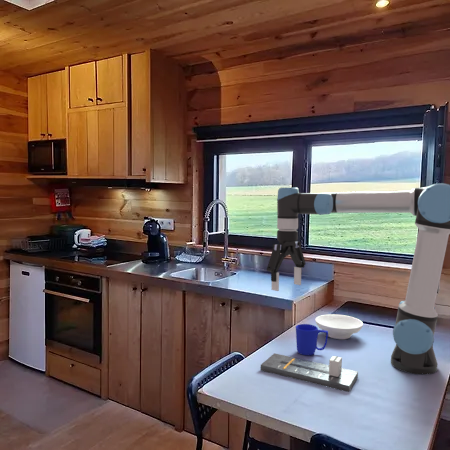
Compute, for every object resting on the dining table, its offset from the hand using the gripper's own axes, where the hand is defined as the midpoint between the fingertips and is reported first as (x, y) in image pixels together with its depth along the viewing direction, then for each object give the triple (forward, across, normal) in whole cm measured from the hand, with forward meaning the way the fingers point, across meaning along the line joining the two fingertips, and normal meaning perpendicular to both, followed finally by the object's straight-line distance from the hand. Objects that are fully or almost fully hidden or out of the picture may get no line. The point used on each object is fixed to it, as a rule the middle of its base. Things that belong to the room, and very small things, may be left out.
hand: (286, 287), depth 157 cm
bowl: (+26, -33, +2) cm, 43 cm away
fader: (+24, +4, +23) cm, 34 cm away
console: (+26, +7, +15) cm, 31 cm away
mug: (+26, -9, +5) cm, 28 cm away
